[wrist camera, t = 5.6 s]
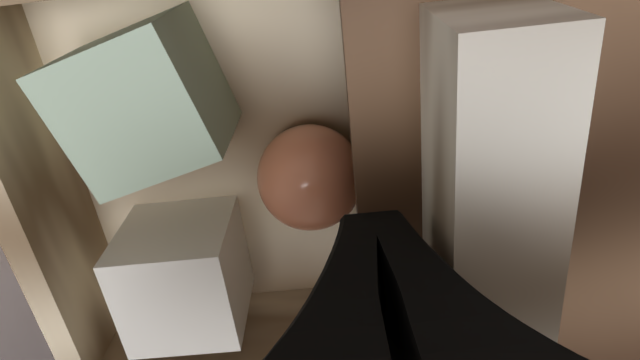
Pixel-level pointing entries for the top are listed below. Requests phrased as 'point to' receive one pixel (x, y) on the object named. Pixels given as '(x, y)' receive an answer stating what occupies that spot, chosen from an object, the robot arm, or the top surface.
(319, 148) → the terracotta ball
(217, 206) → the cream cube
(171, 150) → the sage cube
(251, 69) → the beige open tray
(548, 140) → the lid
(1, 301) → the top surface
